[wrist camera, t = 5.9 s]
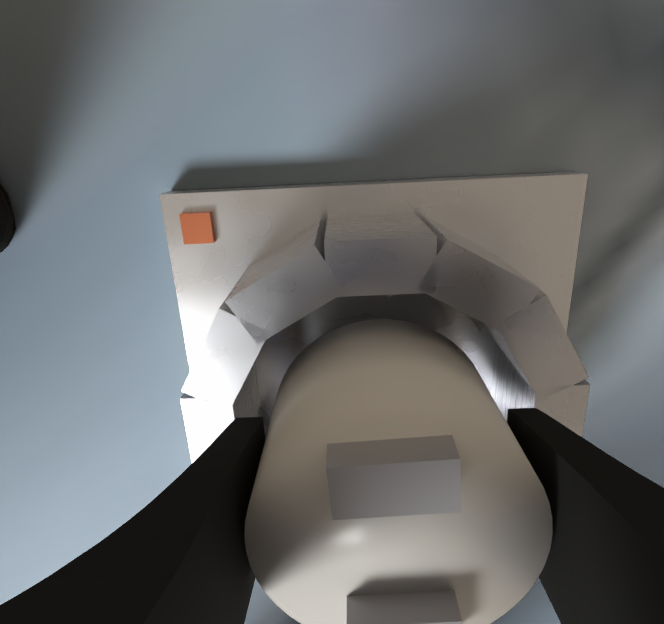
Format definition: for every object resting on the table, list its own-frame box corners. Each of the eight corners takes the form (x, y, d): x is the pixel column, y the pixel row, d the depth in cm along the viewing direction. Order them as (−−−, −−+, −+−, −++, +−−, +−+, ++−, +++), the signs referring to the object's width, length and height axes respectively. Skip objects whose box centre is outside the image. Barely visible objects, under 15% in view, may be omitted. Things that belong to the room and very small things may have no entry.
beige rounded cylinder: (485, 494, 13) (557, 675, 9) (290, 507, 13) (263, 687, 9) (488, 309, 11) (580, 421, 7) (259, 329, 11) (208, 447, 7)
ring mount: (532, 497, 17) (585, 596, 13) (221, 506, 17) (190, 604, 13) (573, 171, 13) (663, 185, 9) (170, 190, 13) (106, 212, 10)
